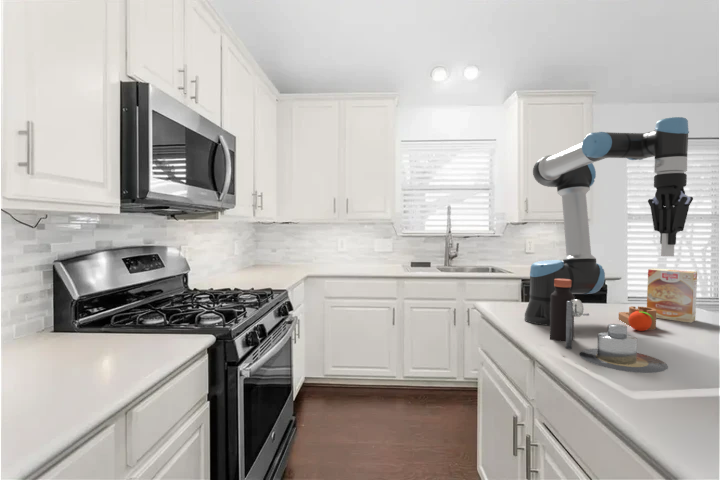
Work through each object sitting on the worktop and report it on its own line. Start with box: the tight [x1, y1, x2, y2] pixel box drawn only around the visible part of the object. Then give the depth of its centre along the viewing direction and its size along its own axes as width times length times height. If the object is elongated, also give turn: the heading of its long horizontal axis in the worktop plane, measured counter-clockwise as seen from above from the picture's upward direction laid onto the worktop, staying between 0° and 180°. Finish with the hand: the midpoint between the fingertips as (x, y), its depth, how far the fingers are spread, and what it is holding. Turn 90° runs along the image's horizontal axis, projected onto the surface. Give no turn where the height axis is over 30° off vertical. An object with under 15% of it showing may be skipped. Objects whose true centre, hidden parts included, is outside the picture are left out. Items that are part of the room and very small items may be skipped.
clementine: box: [628, 311, 654, 332], centre depth 147 cm, size 8×7×7 cm
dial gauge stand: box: [565, 298, 590, 350], centre depth 122 cm, size 5×8×16 cm, turn 96°
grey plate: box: [579, 348, 669, 374], centre depth 112 cm, size 20×20×1 cm
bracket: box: [618, 305, 657, 331], centre depth 158 cm, size 18×8×7 cm, turn 168°
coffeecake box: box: [646, 267, 698, 324], centre depth 167 cm, size 15×7×20 cm, turn 43°
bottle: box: [549, 279, 575, 343], centre depth 132 cm, size 7×7×20 cm
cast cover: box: [597, 323, 638, 365], centre depth 112 cm, size 9×9×9 cm
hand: (667, 256), depth 120 cm, fingers closed
